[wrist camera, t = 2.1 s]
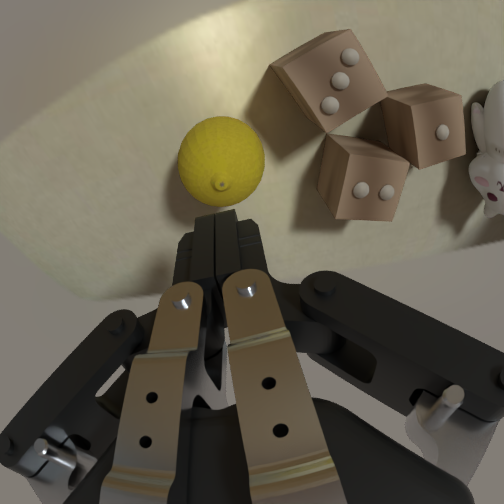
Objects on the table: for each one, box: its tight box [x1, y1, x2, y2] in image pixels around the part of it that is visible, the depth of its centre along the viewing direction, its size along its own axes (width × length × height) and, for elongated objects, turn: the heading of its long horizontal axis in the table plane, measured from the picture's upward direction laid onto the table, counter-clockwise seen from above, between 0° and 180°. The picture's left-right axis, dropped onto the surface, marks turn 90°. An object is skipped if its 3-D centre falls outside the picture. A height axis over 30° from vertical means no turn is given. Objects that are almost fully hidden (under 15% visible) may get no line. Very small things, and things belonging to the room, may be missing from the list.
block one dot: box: [380, 84, 466, 170], centre depth 19 cm, size 5×5×5 cm
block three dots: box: [270, 29, 388, 133], centre depth 17 cm, size 5×5×5 cm
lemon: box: [178, 117, 265, 207], centre depth 19 cm, size 6×6×8 cm
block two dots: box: [317, 134, 410, 222], centre depth 22 cm, size 5×5×5 cm
